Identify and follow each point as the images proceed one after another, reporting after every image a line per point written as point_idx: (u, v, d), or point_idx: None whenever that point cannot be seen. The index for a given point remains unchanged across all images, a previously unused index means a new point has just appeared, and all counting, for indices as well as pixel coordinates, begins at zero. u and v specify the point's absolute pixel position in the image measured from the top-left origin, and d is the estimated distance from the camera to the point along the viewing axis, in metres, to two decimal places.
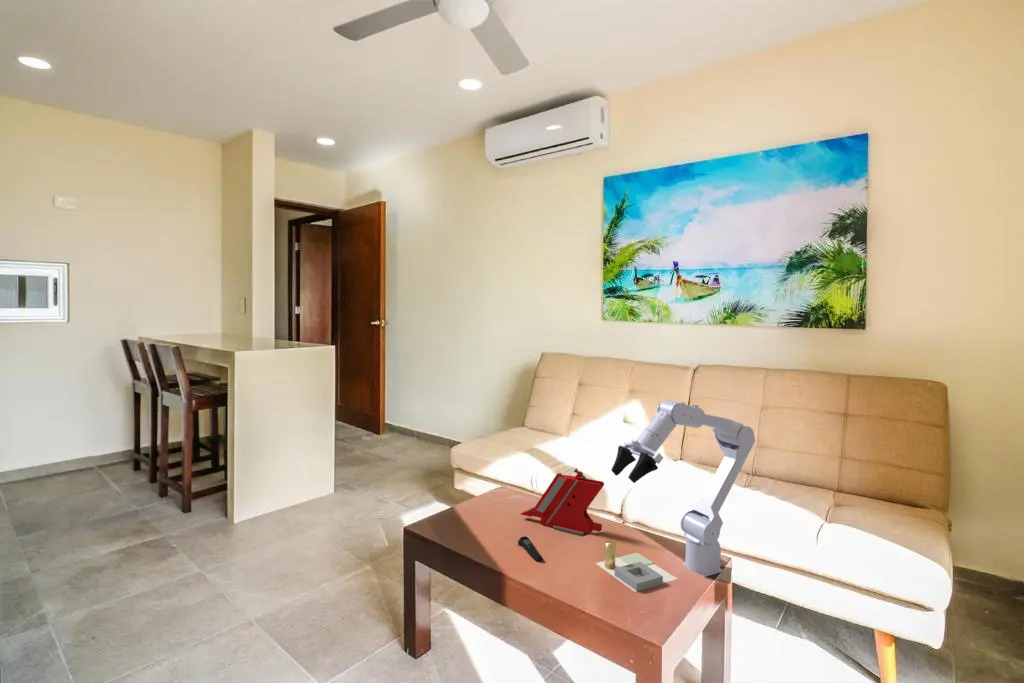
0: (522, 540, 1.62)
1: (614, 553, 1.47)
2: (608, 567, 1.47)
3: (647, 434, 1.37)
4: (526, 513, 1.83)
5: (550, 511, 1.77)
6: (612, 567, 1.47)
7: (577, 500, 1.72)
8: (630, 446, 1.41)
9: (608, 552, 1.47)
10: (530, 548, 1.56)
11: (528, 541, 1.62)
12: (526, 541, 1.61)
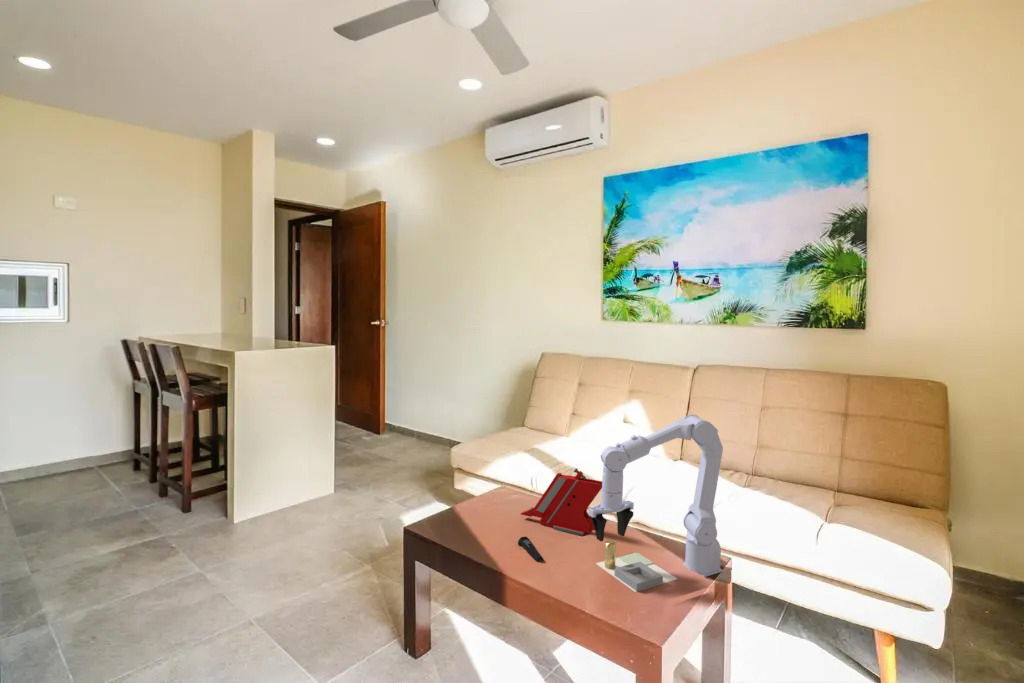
0: (522, 540, 1.62)
1: (614, 553, 1.47)
2: (608, 567, 1.47)
3: None
4: (526, 513, 1.83)
5: (550, 511, 1.77)
6: (612, 567, 1.47)
7: (577, 500, 1.72)
8: None
9: (608, 552, 1.47)
10: (530, 548, 1.56)
11: (528, 541, 1.62)
12: (526, 541, 1.61)
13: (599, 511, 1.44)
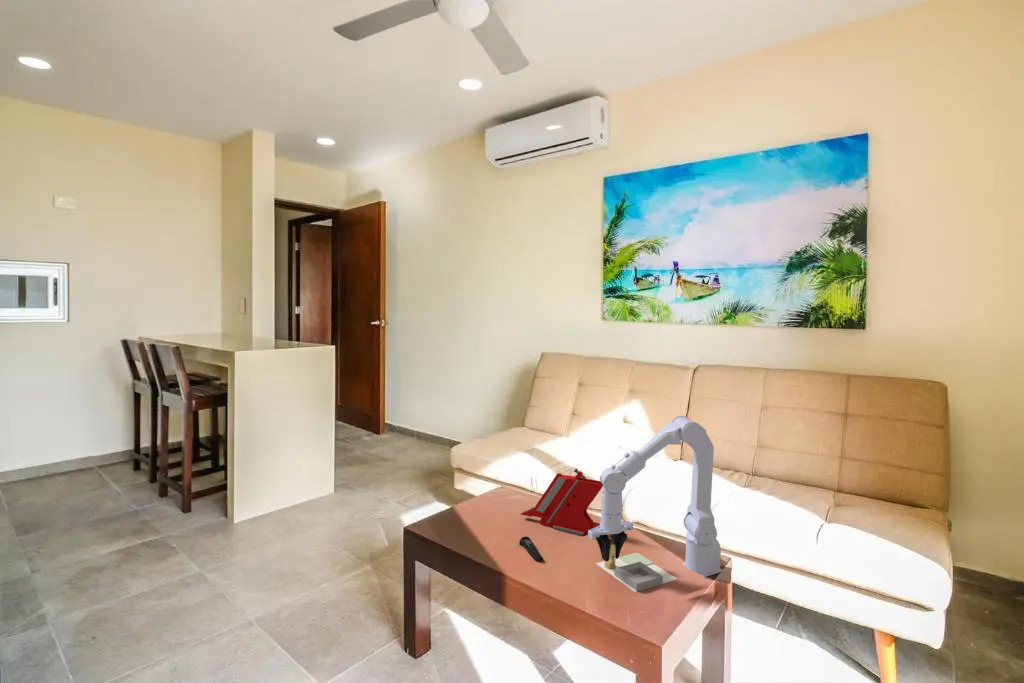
0: (523, 540, 1.62)
1: (614, 553, 1.47)
2: (608, 567, 1.47)
3: None
4: (526, 513, 1.83)
5: (550, 511, 1.77)
6: (612, 567, 1.47)
7: (577, 500, 1.72)
8: None
9: None
10: (531, 548, 1.56)
11: (529, 541, 1.62)
12: (527, 541, 1.61)
13: (598, 533, 1.44)
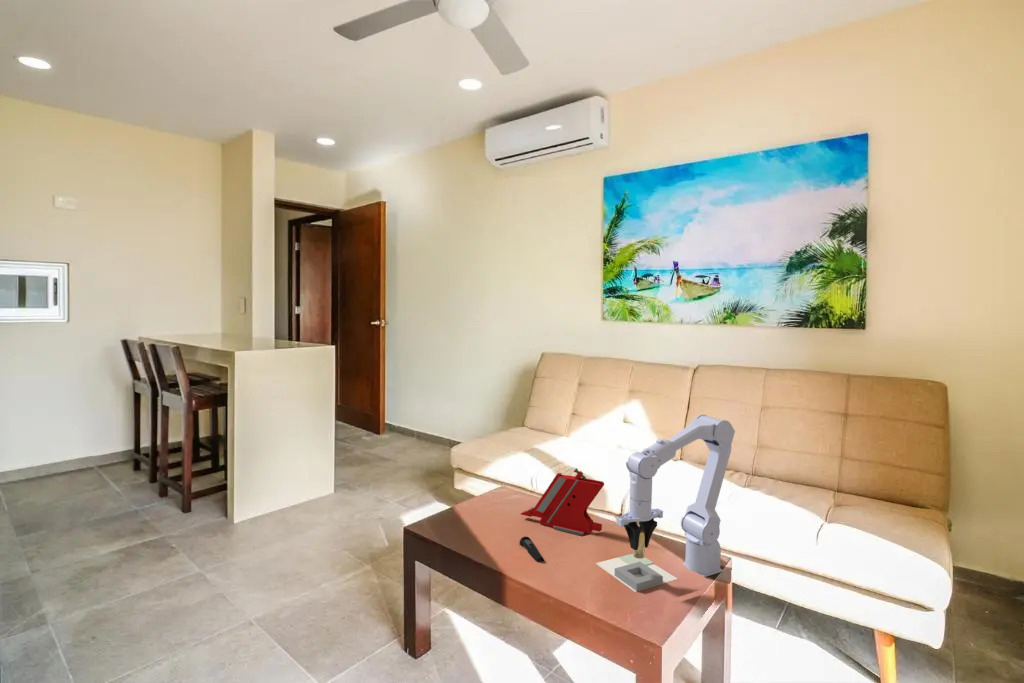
0: (523, 540, 1.62)
1: (644, 542, 1.40)
2: (637, 556, 1.40)
3: None
4: (526, 513, 1.83)
5: (550, 511, 1.77)
6: (641, 556, 1.40)
7: (577, 500, 1.72)
8: None
9: None
10: (531, 548, 1.56)
11: (529, 541, 1.62)
12: (527, 541, 1.61)
13: (628, 520, 1.37)
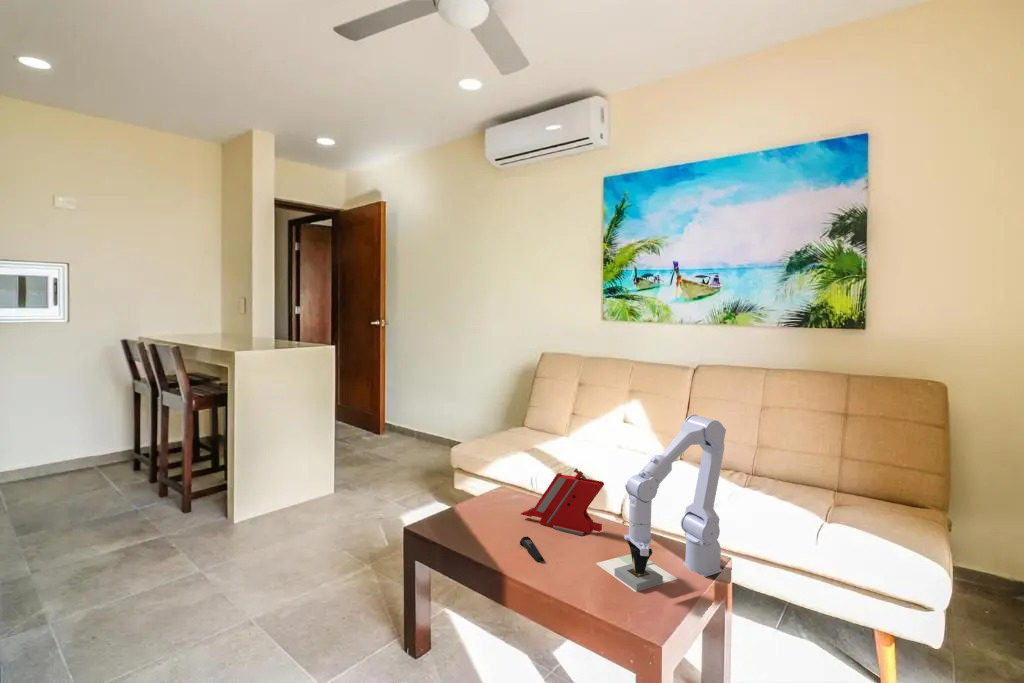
0: (524, 540, 1.62)
1: None
2: None
3: (630, 526, 1.40)
4: (526, 513, 1.83)
5: (550, 511, 1.77)
6: None
7: (577, 500, 1.72)
8: None
9: None
10: (531, 548, 1.56)
11: (530, 541, 1.61)
12: (527, 541, 1.61)
13: (648, 547, 1.36)
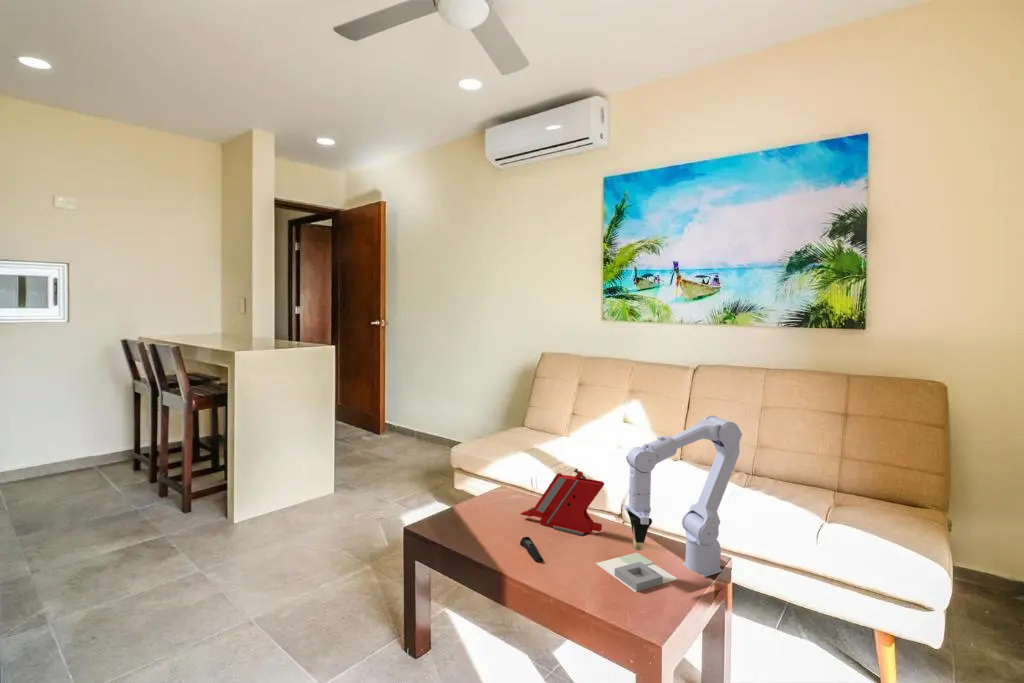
0: (524, 540, 1.62)
1: None
2: (642, 548, 1.44)
3: (630, 496, 1.43)
4: (526, 513, 1.83)
5: (550, 511, 1.77)
6: (643, 546, 1.45)
7: (577, 500, 1.72)
8: None
9: None
10: (531, 549, 1.56)
11: (530, 541, 1.61)
12: (527, 541, 1.61)
13: (648, 516, 1.39)
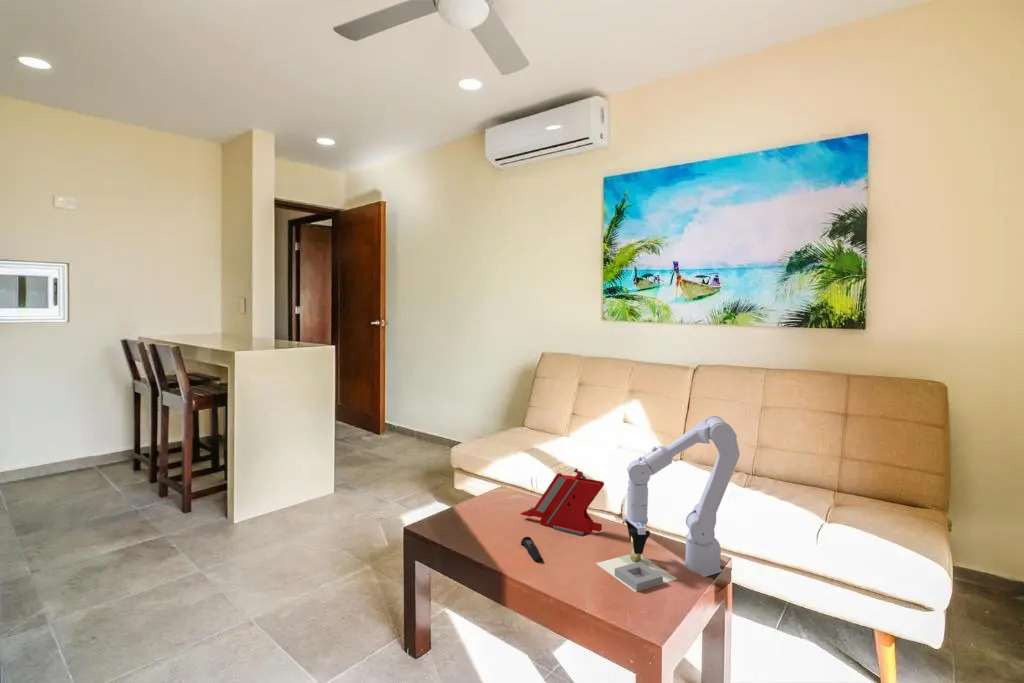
0: (524, 540, 1.62)
1: None
2: (639, 560, 1.51)
3: (628, 507, 1.50)
4: (526, 513, 1.83)
5: (550, 511, 1.77)
6: (640, 558, 1.52)
7: (577, 500, 1.72)
8: None
9: None
10: (531, 549, 1.56)
11: (530, 541, 1.61)
12: (528, 541, 1.61)
13: (645, 526, 1.46)
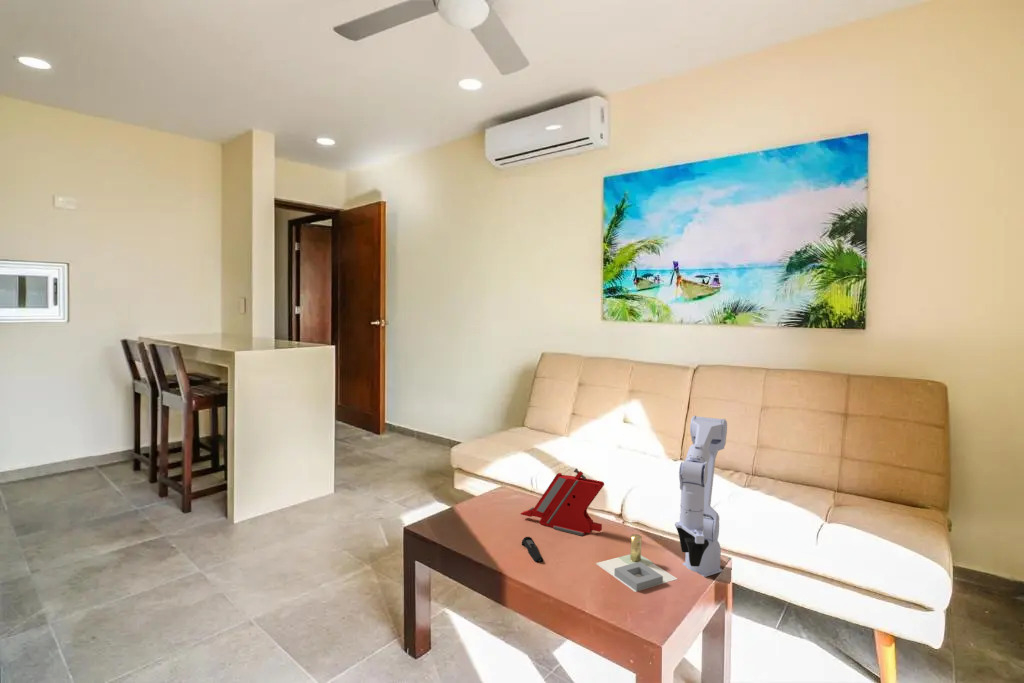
0: (525, 540, 1.62)
1: None
2: (639, 560, 1.51)
3: (682, 513, 1.35)
4: (526, 513, 1.83)
5: (550, 511, 1.77)
6: (640, 558, 1.52)
7: (577, 500, 1.72)
8: None
9: (639, 545, 1.51)
10: (531, 548, 1.56)
11: (531, 541, 1.61)
12: (529, 541, 1.61)
13: (703, 534, 1.30)
